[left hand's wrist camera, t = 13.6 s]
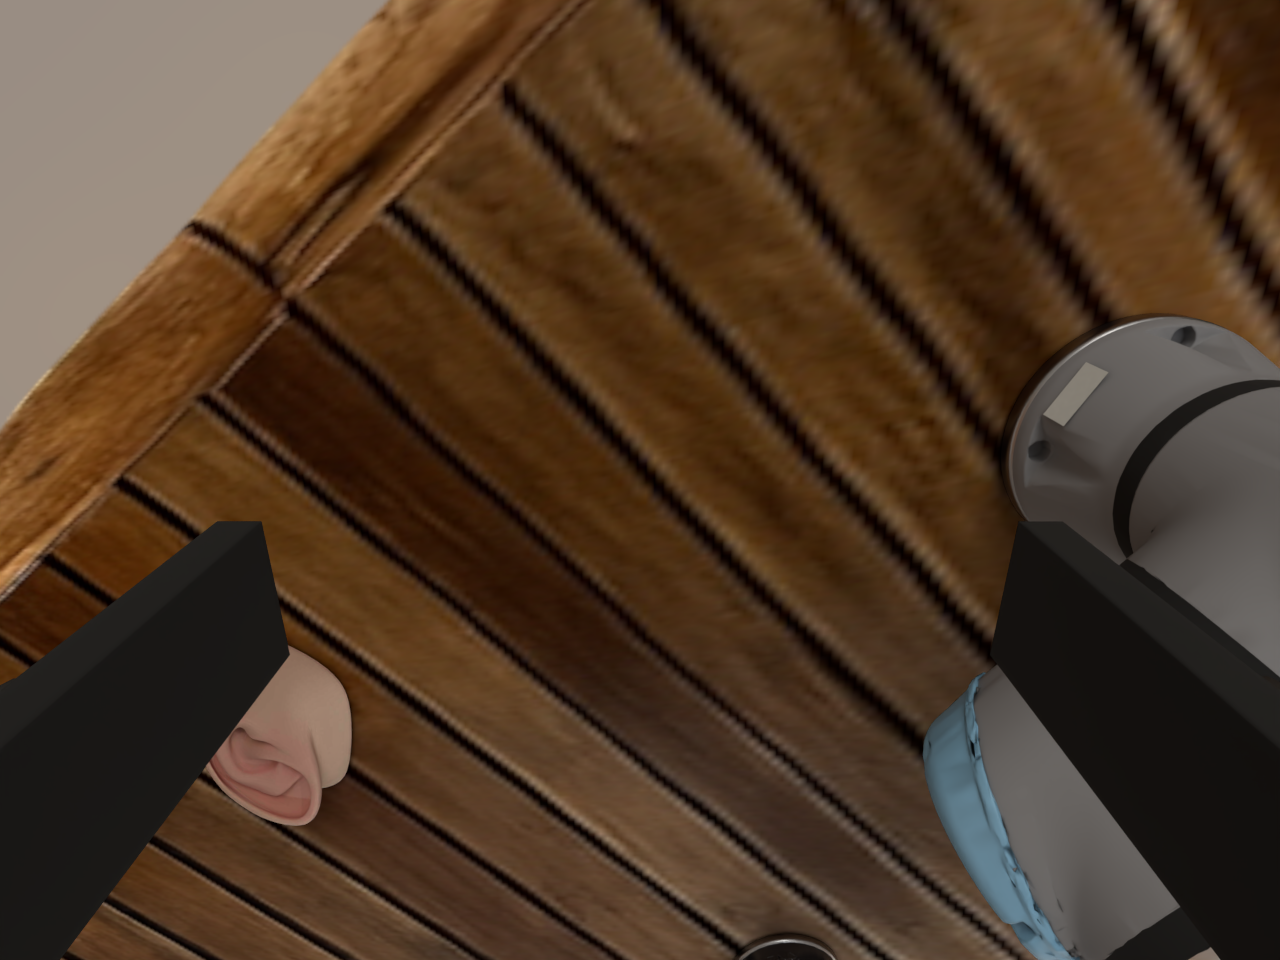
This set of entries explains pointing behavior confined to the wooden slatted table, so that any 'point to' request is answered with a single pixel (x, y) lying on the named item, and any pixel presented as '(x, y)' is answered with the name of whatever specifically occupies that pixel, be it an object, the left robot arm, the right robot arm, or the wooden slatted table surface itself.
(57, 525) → the wooden slatted table surface
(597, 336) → the wooden slatted table surface
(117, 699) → the left robot arm
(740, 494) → the wooden slatted table surface
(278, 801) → the anatomical model
